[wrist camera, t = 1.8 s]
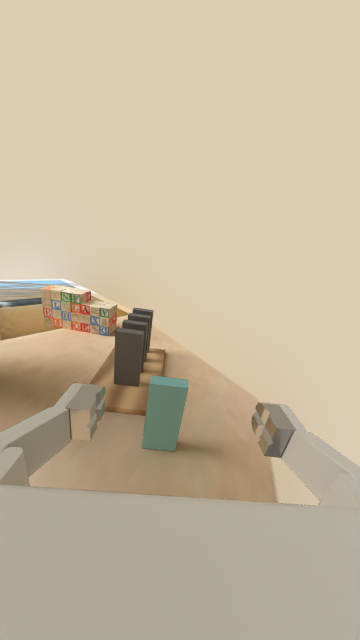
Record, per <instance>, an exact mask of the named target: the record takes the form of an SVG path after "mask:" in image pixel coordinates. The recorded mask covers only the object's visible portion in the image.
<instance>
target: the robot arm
mask: <svg viewBox="0 0 360 640" xmlns="http://www.w3.org/2000/svg"><path fill="white" fill-rule="evenodd" d="M104 395H105V387H104V386H98V385H91V384H81V383H73V384H72V385H71V386H70V387H69V388H68V390H67V391H66V392H65V393H64V394H63V396H62V397H61V398H60V399H59V400H58V402H57V403H56V404H55V405H54V406H53V407H49V408H47V409H45V410H43V411H41V412H39V413H37V414H35V415H33V416H31V417H29V418H27V419H26V420H24V421H22V422H20V423H18V424H16V425H14V426H12V427H10V428H8V429H6V430H4V431H2V432H0V640H360V467H359V466H357V465H356V464H355V463H353V462H352V461H351V460H349V459H348V458H346V457H345V456H343V455H342V454H341V453H339V452H338V451H336V450H335V449H334V448H332V447H331V446H330V445H328V444H327V443H325V442H324V441H322V440H321V439H320V438H318V437H317V436H315V435H314V434H313V433H311V432H307V430H306V429H305V428H304V426H303V425H302V424H301V422H300V421H299V420H298V418H297V417H296V416H295V414H294V413H293V412H292V410H291V409H290V408H289V407H288V406H287V405H281V404H269V403H258V404H257V405H256V410H257V412H256V413H254V414H253V417H252V428H253V431H254V434H255V435H256V436H257V437H258V438H259V442H258V443H259V445H260V447H261V449H262V452H263V454H264V456H270V457H278V458H281V459H282V460H283V461H284V462H285V463H286V465H287V466H288V467H289V468H290V469H291V470H292V471H293V472H294V473H295V474H296V475H297V476H298V477H299V479H300V480H301V481H302V482H303V483H304V484H305V485H306V486H307V487H308V488H309V489H310V491H311V492H312V493H313V494H314V495H315V496H316V497H317V498H318V499H319V500H320V503H319V504H318V506H312V505H298V504H283V503H269V502H254V501H239V500H224V499H209V498H194V497H179V496H164V495H149V494H135V493H120V492H105V491H90V490H76V489H61V488H46V487H31V486H30V484H29V479H28V477H29V476H31V475H32V474H33V473H34V472H35V471H36V470H38V469H39V468H40V467H41V466H42V465H43V464H45V463H46V462H47V461H48V460H49V459H51V458H52V457H53V456H54V455H55V454H56V453H58V452H59V451H60V450H61V449H62V448H63V447H65V446H66V445H67V444H68V443H69V442H70V441H71V440H81V441H91V439H92V436H93V434H94V432H95V430H96V428H97V422H98V421H99V420H100V419H101V417H102V415H103V412H104V408H105V399H104Z"/></svg>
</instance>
